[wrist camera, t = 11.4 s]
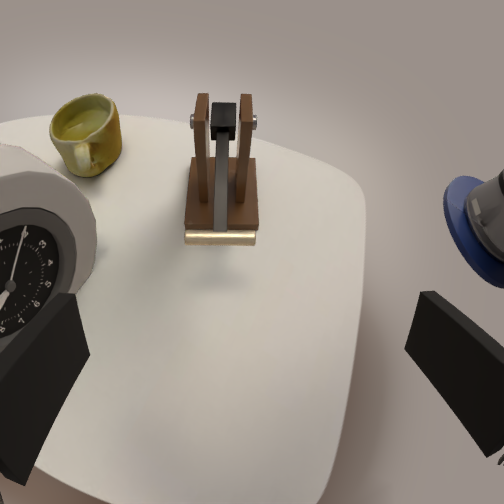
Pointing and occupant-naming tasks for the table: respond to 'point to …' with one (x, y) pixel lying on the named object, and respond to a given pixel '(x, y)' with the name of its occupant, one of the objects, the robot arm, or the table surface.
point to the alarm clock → (39, 238)
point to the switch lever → (221, 184)
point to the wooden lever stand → (239, 173)
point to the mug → (87, 134)
